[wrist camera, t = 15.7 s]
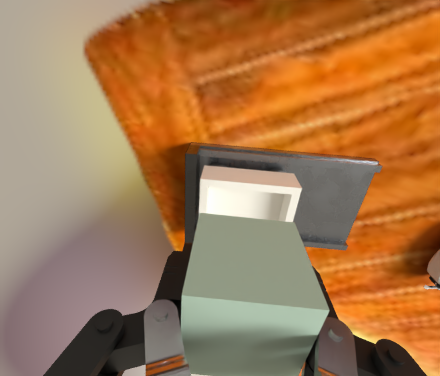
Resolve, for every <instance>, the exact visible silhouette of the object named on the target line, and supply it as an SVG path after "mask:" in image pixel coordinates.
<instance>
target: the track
mask: <svg viewBox="0 0 440 376" xmlns="http://www.w3.org/2000/svg"><path fill="white" fill-rule="evenodd" d="M213 163H221V164H224V165H226V166H227V167H228V168H239V169H250V170H261V171H270V169H274V168H277V169H282V170H284V171H286V172H287V173H294V174H295V176H296V178H297V180H298V182H299V184H300V186H301V188H302V190H301V193H300V197H299V201H298V204H297V208H296V212H295V216H294V219H293V222H295V225H296V227H297V230H298V232H299V235H300V237H301V240H302V242H303V245H304V246H306V247H317V248H327V249H338V250H346V249H347V247H348V245H347V244H346V239H347V237H348V235H349V232H350V230H351V228H352V225H353V223H354V220H355V218H356V216H357V213H358V211H359V209H360V206H361V204H362V202H363V199H364V197H365V194H366V192H367V190H368V187H369V185H370V183H371V180H372V178H373V175H374V173H375V172H379V173H380V170H381V168H382V166H381V165H380V164H379V161H377V160H376V159H372V158H361V157H350V156H338V155H327V154H316V153H305V152H294V151H283V150H272V149H261V148H250V147H239V146H228V145H217V144H206V143H195V142H191V144H190V146H189V148H188V150H187V151H186V153H185V242H189V243H193V241H194V237H195V232H196V228H197V223H198V218H199V199H200V178H201V175H202V172H203V168H204V165H207V166H210V164H213Z"/></svg>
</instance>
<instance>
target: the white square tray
mask: <svg viewBox="0 0 440 376" xmlns="http://www.w3.org/2000/svg"><path fill="white" fill-rule="evenodd" d="M301 190H302V188H301V186H300V184H299V182H298V180H297V178H296V176H295V174H294V173H287V172H286V171H284V170H282V169H277V168H274V169H270V171H261V170H250V169H239V168H228V167H227V166H226V165H224V164H221V163H213V164H210V166H207V165H204V168H203V172H202V175H201V178H200V199H199V214H200V213H208V214H217V215H227V216H237V217H246V218H256V219H266V220H275V221H285V222H293V219H294V216H295V212H296V208H297V204H298V201H299V197H300V193H301Z"/></svg>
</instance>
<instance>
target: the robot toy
mask: <svg viewBox="0 0 440 376" xmlns="http://www.w3.org/2000/svg"><path fill="white" fill-rule="evenodd" d="M427 271H428V273H429V274H430V277H429V278H430V280H431V281H432V282H433V283H434V284H435V285H436V286H427V285H425V286H423V287H424V288H425V289H438V290H440V249H439V250H438V251H437V252H436V253H435V254H434V256H433V257H432V259H431V260H430V262H429V263H428V268H427Z"/></svg>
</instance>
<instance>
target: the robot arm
mask: <svg viewBox="0 0 440 376" xmlns="http://www.w3.org/2000/svg"><path fill="white" fill-rule="evenodd" d="M192 246H193V243H189V242H185V244H184V247H183V251H173V252H172V254H171V255H170V256H169V257H168V259H167V262H166V265H165V268H164V271H163V274H162V277H161V280H160V283H159V286H158V289H157V292H156V295H155V298H154V300H153V302H152V303H151V304H150V305H149V306H148V307H147V308H146V309H145V310H143V311H140V312H138V313H134V314H129V315H124V316H122V314H121V313H120V312H119V311H117V310H114V309H107V310H103V311H100V312H99V313H97V314H95V315H94V316H93V317H92V318H91V319H90V320H89V321H88V322H87V324H86V325H85V326H84V327H83V328H82V330H81V331H80V332H79V333H78V334H77V336H76V337H75V338H74V339H73V340H72V342H71V343H70V344H69V345H68V346H67V348H66V349H65V350H64V351H63V352H62V354H61V355H60V356H59V357H58V359H57V360H56V361H55V362H54V363H53V364H52V366H51V367H50V368H49V369H48V371H47V372H46V373H45V374H44V375H43V376H122V374H123V373H124V371H125V370H127V369H130V368H134V367H138V366H141V365H145V364H146V376H191V374H190V368H189V363H188V360H187V358H186V356H185V351H184V346H183V340H182V334H181V302H182V292H183V287H184V282H185V278H186V273H187V269H188V264H189V260H190V255H191V250H192ZM312 267H313V266H312ZM313 270H314V272H315V275H316V277H317V280H318V282H319V285H320V287H321V290H322V292H323V295H324V297H325V300H326V302H327V305H328V308H329V310H330V311H329V313H328V315H327V317H326V319H325V321H324V323H323V325H322V327H321V330H320V332H319V334H318V336H317V338H316V340H315V342H314V344H313V346H312V348H311V350H310V352H309V354H308V356H307V358H306V361H305V363H304V365H303V367H302V375H301V376H427V375H426V374H425V373H424V372H423V370H422V369H421V368H420V367H419V365H418V364H417V363H416V362H415V361H414V359H413V358H412V357H411V356H410V354H409V353H408V352H407V351H406V350H405V349H404V348H403V347H401V346H400V345H399V344H397V343H395V342H393V341H391V340H388V339H381V340H379V341H378V342H377V343H376V344H374V343H371V342H369V341H366V340H364V339H362V338H359V337H357V336H355V335H353V334H352V332H351V330H350V329H349V328H348V327H347V326H346V325H345V324H344V323H343V322H342V321H340V320H339V319H338V317H337V315H336V312H335V310H334V308H333V305H332V303H331V300H330V298H329V296H328V293H327V291H326V288H325V286H324V284H323V281H322V279H321V277H320V274H319V273H318V272H317V271H316V269H315V268H314V267H313Z"/></svg>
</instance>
